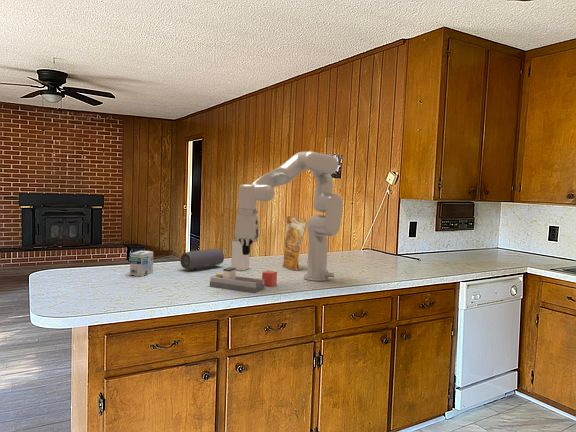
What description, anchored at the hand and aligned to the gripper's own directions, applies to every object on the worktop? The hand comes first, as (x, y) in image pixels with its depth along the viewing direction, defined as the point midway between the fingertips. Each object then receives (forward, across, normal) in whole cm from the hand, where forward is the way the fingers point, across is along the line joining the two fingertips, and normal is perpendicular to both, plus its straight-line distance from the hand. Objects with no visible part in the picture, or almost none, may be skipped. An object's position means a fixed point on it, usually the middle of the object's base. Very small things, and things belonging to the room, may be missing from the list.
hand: (245, 254), depth 200 cm
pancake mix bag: (+15, 0, -54) cm, 56 cm away
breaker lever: (+13, +7, +2) cm, 14 cm away
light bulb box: (+15, +55, +3) cm, 57 cm away
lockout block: (+15, -7, -10) cm, 19 cm away
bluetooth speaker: (+15, +39, -25) cm, 49 cm away
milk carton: (+15, +22, -35) cm, 44 cm away
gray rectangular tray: (+15, +3, +2) cm, 15 cm away
